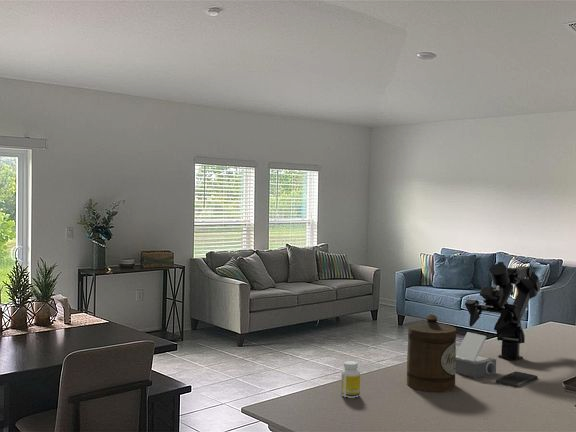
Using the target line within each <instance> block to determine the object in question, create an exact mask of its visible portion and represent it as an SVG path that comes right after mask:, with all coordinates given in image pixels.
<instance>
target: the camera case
mask: <svg viewBox="0 0 576 432" xmlns="http://www.w3.org/2000/svg"><path fill="white" fill-rule="evenodd" d="M496 373H497V359H496V358H492V357H488V356H485V355H480V354H478V356H477V358H476V360H475V362H474V363H470V362H466V361H463V360H459V359H456V373H455V374H460V375H464V376H466V377H469V378H473V379H478V378H481V377H485V376H488V375H494V374H496Z"/></svg>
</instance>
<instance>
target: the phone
mask: <svg viewBox="0 0 576 432" xmlns="http://www.w3.org/2000/svg"><path fill="white" fill-rule="evenodd" d="M538 379H539V377H538V375H536V374H530V373H526V372H522V371H513V372H510V373H507V374H506V375H504V376H501V377H499V378H496V379H495V384H500V385H504V386H507V387H513V388H520V387H522V386H525V385H527V384H530V383H531V382H532V383H533V382H534V381H536V380H538Z"/></svg>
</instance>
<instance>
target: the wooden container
mask: <svg viewBox="0 0 576 432" xmlns="http://www.w3.org/2000/svg"><path fill="white" fill-rule="evenodd" d="M407 336H408V337H407V355H406V385H407V386H408V387H410V388H412V389H414V388H415V390H417V391H423V392H429V393H440V392H441V393H443V392H449V391H452V390H454V389H455V388H456V374H457V373H456V353H457V351H456V349H457V348H456V347H457V343H456V342H457V328H456V327H455V326H453V325H449V324H445V323H438V317H437V316H436V315H435V314H429V315H428V316H426V322H418V323H417V322H416V323H411V324H409V325H408V329H407Z"/></svg>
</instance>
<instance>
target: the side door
mask: <svg viewBox="0 0 576 432" xmlns="http://www.w3.org/2000/svg"><path fill="white" fill-rule="evenodd" d="M486 340H487V336H486V335H482V334H478V333H475V332H469V331H467V332H466V334H465V336H464V338H463V339H462V341H461V343H460V345H459V347H458V350H457V351H456V359H459V360H463V361H466V362H470V363H474V362H475V360H476V358H477V356H478V355H480V352H481V349H482V348H483V345H484V344H485V341H486Z"/></svg>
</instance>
